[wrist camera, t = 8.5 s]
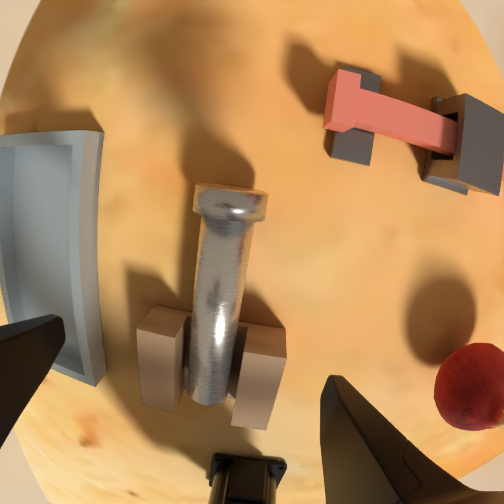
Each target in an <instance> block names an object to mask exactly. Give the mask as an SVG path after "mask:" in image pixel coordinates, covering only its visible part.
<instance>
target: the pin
mask: <svg viewBox="0 0 504 504" xmlns="http://www.w3.org/2000/svg"><path fill="white" fill-rule="evenodd" d="M268 195H269V194H268V193H266V192H263V191H260V190H255V189H251V188H245V187H239V186H232V185H224V184H213V183H197V184H195V192H194V201H193V209H192V210H193V212H195V213H197V214H199V215H202V216H201V224H200V233H199V242H198V252H197V262H196V272H195V283H194V295H193V307H192V320H191V335H190V351H189V370H188V394H189V396H190V397H191V398H192V399H193V400H194V401H195V402H197V403H200V404H203V405H216V404H219V403H221V402H223V401H224V400H225V399H226V398H227V395H228V388H229V382H230V375H231V369H232V362H233V356H234V349H235V343H236V337H237V330H238V324H239V317H240V311H241V304H242V298H243V291H244V285H245V279H246V272H247V266H248V259H249V253H250V247H251V240H252V234H253V227H254V222H261V221H264V220H265V214H266V208H267V201H268Z"/></svg>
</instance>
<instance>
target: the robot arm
mask: <svg viewBox="0 0 504 504" xmlns="http://www.w3.org/2000/svg"><path fill="white" fill-rule="evenodd" d="M65 341H66V334H65V328H64V322H63V319H62V317H61V316H58V315H55V314H49V315H45V316H40V317H36V318H32V319H28V320H24V321H20V322H15V323H11V324H7V325H3V326H0V449H1V447H2V445H3V443H4V442H5V440H6V438H7V436H8V435H9V433H10V431H11V430H12V428H13V426H14V425H15V423H16V421H17V420H18V418H19V416H20V415H21V413H22V412H23V410H24V409H25V407H26V405H27V404H28V402H29V401H30V399H31V398H32V396H33V395H34V393H35V392H36V390H37V389H38V387H39V386H40V384H41V383H42V381H43V380H44V378H45V377H46V375H47V374H48V372H49V370H50V368H51V367H52V365H53V363H54V361H55V359H56V358H57V356H58V354H59V352H60V350H61V349H62V347H63V345H64V343H65ZM320 446H321V455H322V465H323V474H324V485H325V495H326V504H504V491H477V490H474V489H471V488H469V487H467V486H465V485H464V484H462V483H461V482H460V481H458V480H457V479H456V478H454V477H453V476H451V475H450V474H449V473H447V472H446V471H445V470H443V469H442V468H441V467H439V466H438V465H437V464H435V463H434V462H433V461H432V460H430V459H429V458H428V457H427V456H425V455H424V454H423V453H422V452H421V451H420V450H419V449H418V448H416V447H415V446H414V445H413V444H412V443H411V442H410V441H409V440H407V438H406V437H405V436H404V435H403V434H402V433H401V432H399V431H398V430H397V429H396V428H395V427H394V426H393V425H392V424H391V423H390V422H389V421H388V420H387V419H386V418H385V417H384V416H383V415H382V414H381V413H380V412H379V411H378V410H377V409H376V408H375V407H374V406H373V405H372V404H371V403H369V402H368V401H367V400H366V399H365V398H364V397H363V396H362V395H361V394H360V393H359V392H358V391H357V390H356V389H355V388H354V387H353V386H352V385H351V384H350V383H349V382H348V381H347V380H346V379H345V378H344V377H343V376H341V375H330V376H329V377H328V378H327V381H326V383H325V386H324V389H323V391H322V394H321V399H320ZM286 469H287V464H286V463H285V462H276V461H266V460H258V459H250V458H243V457H236V456H230V455H224V454H218V453H216V454H213V457H212V464H211V472H210V480H209V486H210V487H212V489H211V494H210V499H209V503H208V504H276V489H277V487H278V485H279V483H280V481H281V479H282V477H283V475H284V473H285V471H286Z"/></svg>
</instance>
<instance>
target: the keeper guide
mask: <svg viewBox="0 0 504 504" xmlns="http://www.w3.org/2000/svg"><path fill="white" fill-rule="evenodd" d="M342 70H345V71H349V72H353V73H357V74H361V82H360V89H364V90H368V91H371V92H375V93H378V94H379V92H380V82H381V76H379V75H375V74H372V73H368V72H365V71H361V70H358V69H354V68H350V67H346V66H344V68H343V69H342ZM431 112H433V113H436V114H438V115H441V116H443V117H446V118H448V119H450V120H453V121H455V122H457V133H456V143H455V151H454V159H453V158H451V157H448V156H446V155H443V154H440V153H437V152H435V151H432V150H429V149H427V154H426V160H425V167H424V173H423V179H422V181H424V182H427V183H430V184H433V185H436V186H440V187H443V188H446V189H449V190H452V191H455V192H458V193H460V194H464V195H467V192H468V189H469V190H473V191H478V192H483V193H487V194H492V195H496V196H499V192H500V186H501V179H502V172H503V164H504V114H503V113H501V112H499V111H498V110H496V109H494V108H492V107H491V106H489V105H487V104H485V103H483V102H482V101H480V100H478V99H476V98H474V97H472V96H470V95H468V94H466V93H464V94H461V95H458V96H455V97H451V98H448V99H445V100H444V99H442V98H440V97H434V98H432V110H431ZM373 140H374V132H370V131H367V130H363V129H359V128H355V127H353V128H351V129H349V130H347V131H344V132H338V131H334V134H333V141H332V147H331V153H330V158H335V159H339V160H344V161H348V162H353V163H357V164H361V165H365V166H369V165H370V159H371V153H372V147H373Z"/></svg>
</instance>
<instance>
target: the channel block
mask: <svg viewBox="0 0 504 504" xmlns="http://www.w3.org/2000/svg"><path fill="white" fill-rule="evenodd" d="M191 320H192V312H187V311H182V310H178V309H173V308H168V307H164V306H159V305H155V306H154V307H153V308H152V310H151V311H150V312H149V313H148V315H147V316H146V317H145V318H144V320H143V321H142V322H141V323H140V325H139V326H138V327H137V328H136V333H137V353H138V367H139V379H140V390H141V400H142V405H146V406H149V407H153V408H156V409H160V410H164V411H167V412H171V413H175V410H176V408H177V405H178V403H179V400H180V398H181V395H182V393H183V390H184V389H187V390H188V370H189V351H190V335H191ZM286 359H287V353H286V329H283V328H276V327H270V326H264V325H258V324H252V323H246V322H240V321H239V324H238V330H237V337H236V343H235V349H234V356H233V362H232V369H231V375H230V382H229V388H228V395H227V398H231V399H235V404H234V410H233V416H232V421H231V425H232V426H238V427H245V428H252V429H259V430H266V428H267V425H268V422H269V418H270V415H271V412H272V409H273V405H274V402H275V398H276V395H277V391H278V388H279V384H280V381H281V377H282V374H283V370H284V366H285V363H286Z"/></svg>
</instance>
